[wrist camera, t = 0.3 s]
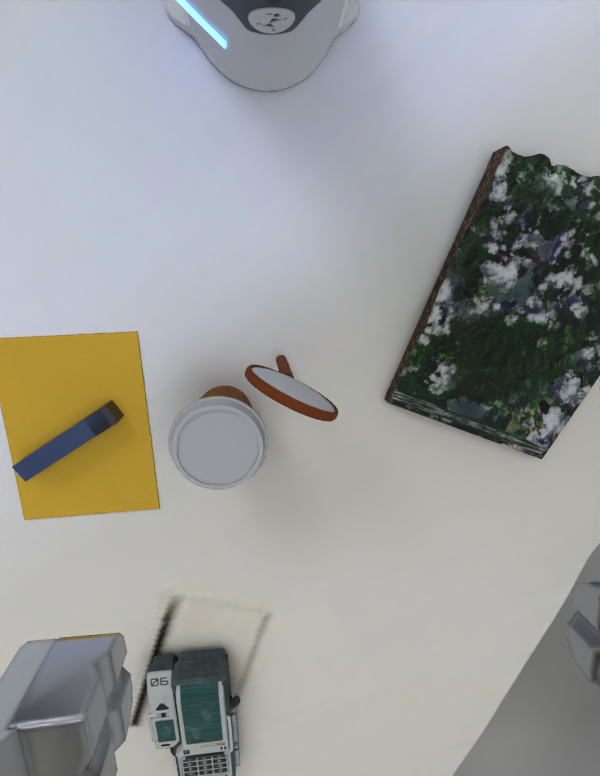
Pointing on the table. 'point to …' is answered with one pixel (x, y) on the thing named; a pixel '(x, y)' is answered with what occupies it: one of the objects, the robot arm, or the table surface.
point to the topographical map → (512, 309)
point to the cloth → (69, 406)
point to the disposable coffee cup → (218, 439)
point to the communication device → (194, 712)
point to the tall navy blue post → (68, 441)
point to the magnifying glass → (290, 390)
